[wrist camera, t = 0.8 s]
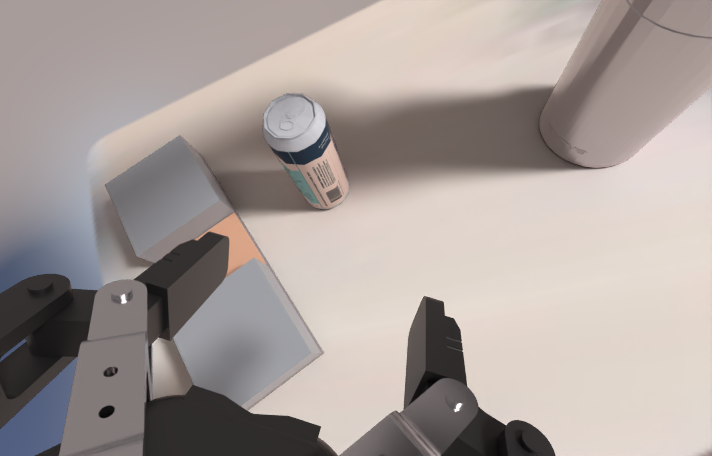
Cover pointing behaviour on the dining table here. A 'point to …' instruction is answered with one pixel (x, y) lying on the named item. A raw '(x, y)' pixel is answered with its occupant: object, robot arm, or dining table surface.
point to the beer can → (306, 149)
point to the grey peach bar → (234, 295)
